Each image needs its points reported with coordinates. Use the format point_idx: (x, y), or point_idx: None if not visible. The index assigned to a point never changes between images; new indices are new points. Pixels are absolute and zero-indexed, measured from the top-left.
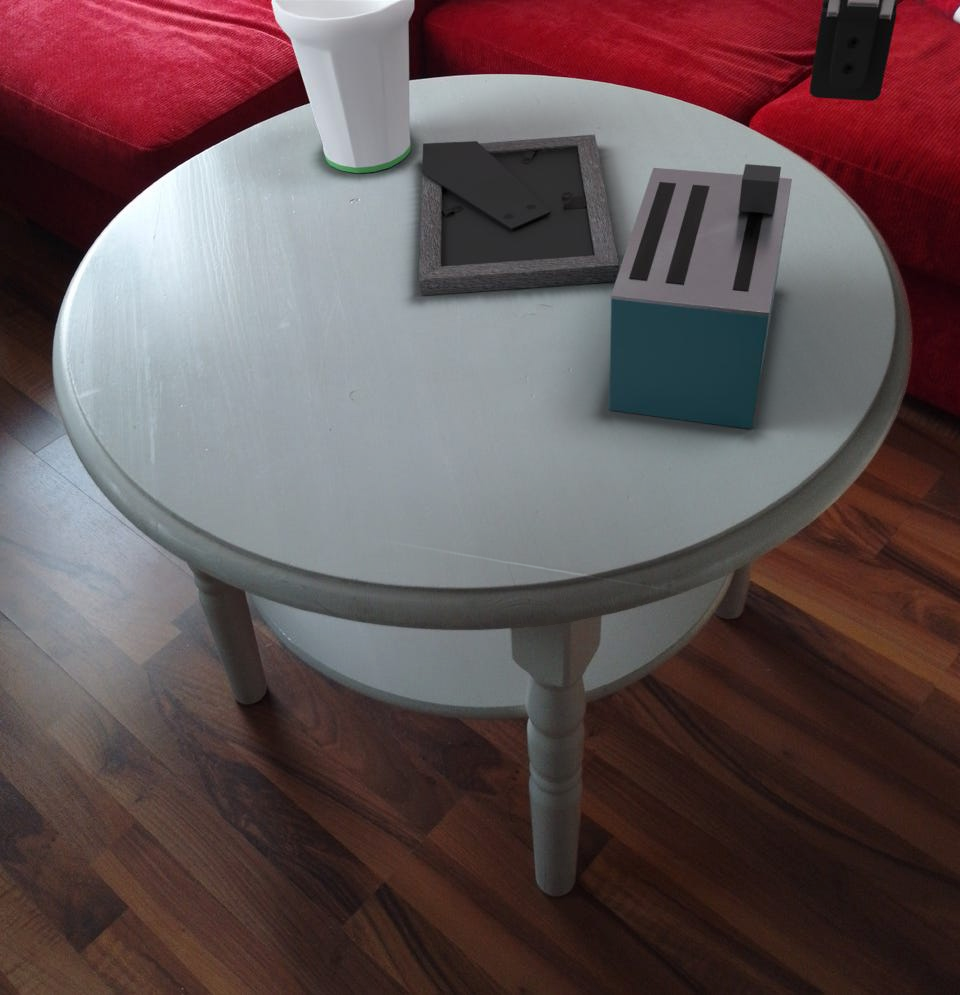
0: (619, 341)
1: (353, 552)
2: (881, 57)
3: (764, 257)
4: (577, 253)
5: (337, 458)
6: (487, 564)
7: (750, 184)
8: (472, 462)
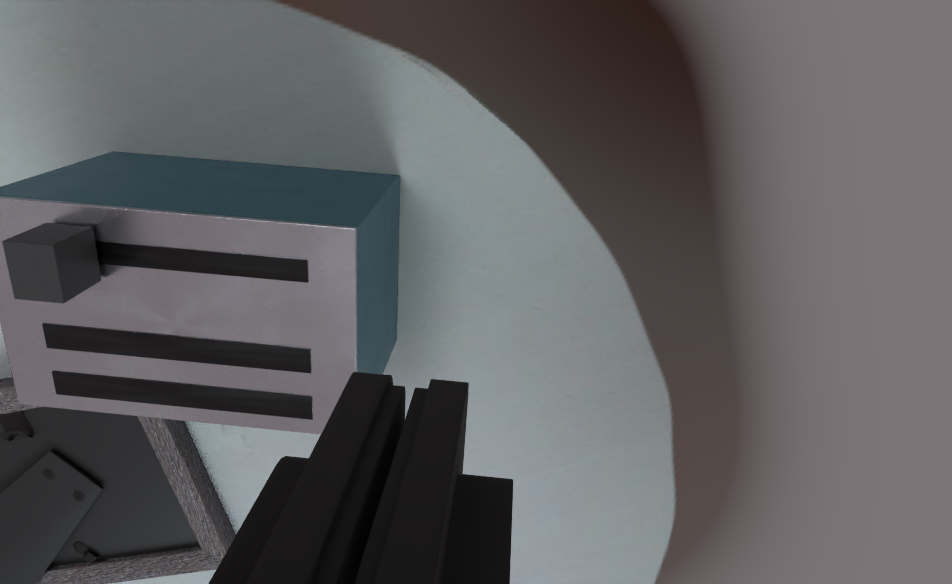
0: None
1: (638, 543)
2: (452, 485)
3: (213, 237)
4: None
5: (513, 578)
6: (646, 431)
7: (67, 286)
8: (502, 464)
